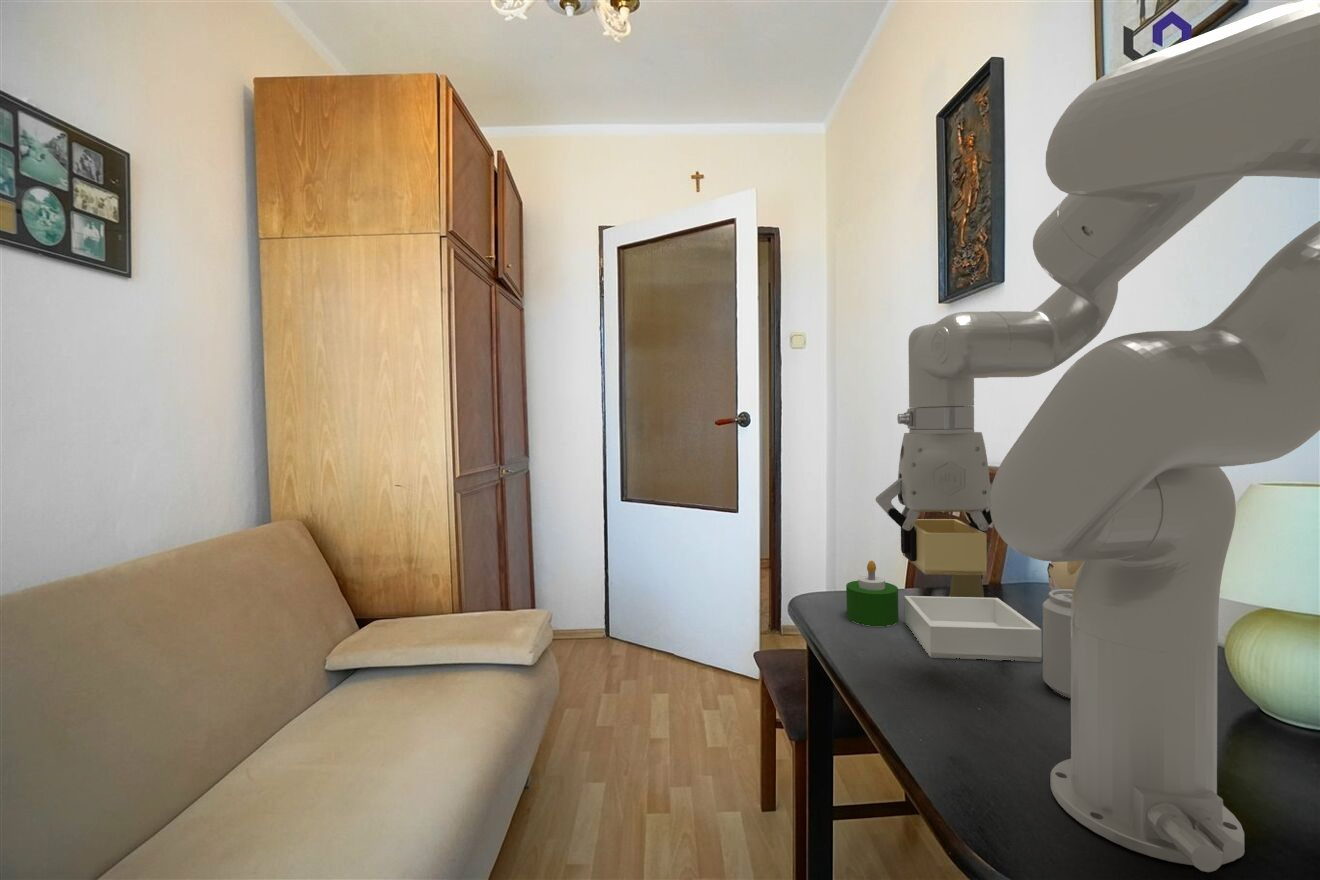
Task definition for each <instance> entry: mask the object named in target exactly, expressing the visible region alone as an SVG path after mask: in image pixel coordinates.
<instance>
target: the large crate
mask: <svg viewBox="0 0 1320 880" xmlns="http://www.w3.org/2000/svg"><path fill="white" fill-rule="evenodd" d="M903 616H904V617H903V619H904V620H903V621H904V622H905V623H906V624H905V623H904V624H905V626H906V625H907V626H908V627H909V628H908V627H907V626H906V627H907V628H908V629H910V630H911V631H912V632H911V631H910V630H909V631H910V632H911V634H912V633H913V634H914V635H913V634H912V635H913V636H914V638H915V637H916V638H917V639H916V638H915V639H916V640H917V642H918V641H919V642H918V643H919V644H920V645H922V646H921V647H922V648H923V649H925V650H924V651H925V652H926V654H927V653H928V654H927V655H928V656H929V658H931V659H948V660H949V659H953V660H976V659H983V660H982V661H1002V660H1011V661H1010V662H1035V663H1041V662H1042V663H1043V635H1042V628H1040V627H1039V626H1037V625H1036V624H1035V623H1033V622H1032V621H1030V620H1029V619H1027V618H1026V617H1025V616H1023V615H1022V614H1020V613H1019V612H1018V611H1017V610H1015V609H1013V608H1012V607H1011V606H1009V604H1007V603H1006V602H1004V601H1002V600H1001V599H1000V598H998V597H984V598H980V597H949V596H928V595H927V596H925V595H923V596H922V595H921V596H920V595H904V596H903ZM956 658H957V659H956ZM959 658H960V659H959ZM984 659H985V660H984ZM986 659H987V660H986ZM1014 660H1015V661H1014Z"/></svg>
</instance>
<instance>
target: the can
mask: <svg viewBox="0 0 1320 880" xmlns="http://www.w3.org/2000/svg"><path fill="white" fill-rule="evenodd" d="M1072 593H1073V590H1070V589H1059V590H1053V591H1051V590H1050V591H1049V592H1048V596H1049V598H1047V599H1046V600H1045V601H1044V602H1043V603H1042V679H1043V681H1044V683H1045V684H1046V685H1048V686H1049V687H1050V688H1051V689H1053V690H1054V691H1053V690H1052V691H1053V692H1055V691H1056V692H1057V693H1059V694H1061V695H1060V696H1062V695H1063V696H1062V697H1064V696H1066V697H1069V698H1071V599H1072ZM1056 692H1055V693H1056ZM1057 693H1056V694H1057ZM1059 694H1058V695H1059ZM1066 697H1065V698H1066ZM1069 698H1068V699H1069Z"/></svg>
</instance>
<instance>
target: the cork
mask: <svg viewBox="0 0 1320 880" xmlns="http://www.w3.org/2000/svg"><path fill="white" fill-rule="evenodd" d="M950 580H951V581H950V588H949V589H950V590H949V593H948V597H980V598H985V593H984V586H983V579H982V575H951V579H950Z"/></svg>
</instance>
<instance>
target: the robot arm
mask: <svg viewBox="0 0 1320 880" xmlns="http://www.w3.org/2000/svg"><path fill="white" fill-rule="evenodd" d="M1046 147H1047V148H1046V152H1045V170H1046V174H1047V177H1048V178H1049V179H1050V180H1049V181H1051V184H1053V185H1054V187H1056V188H1057V189H1058V190H1059V191H1061V192H1063V193H1066V194H1067V196H1066V197H1064V198H1063V200H1061V202H1060V203H1059V204H1058V205H1057V206H1056V207H1055V209H1054V210H1053V211H1052V212H1051V213H1050V214H1049V215H1048V216H1047V217H1046V218H1045V219H1044V220H1043V221H1042V222H1041V224H1040V225H1039V226H1038V228H1037V229H1036V230H1035V233H1034V235H1033V239H1032V249H1033V253H1034V256H1035V258H1036V260H1037V262H1038V264H1039V265H1040V267H1041V269H1043V271H1044V272H1045V273H1046V274H1047V275H1048V276H1049V277H1050V278H1051V279H1053V280H1054V281H1055V282H1057V283H1058V284H1059V285H1060V286H1059V287H1058V288H1057V289H1056V290H1055V291H1054V292H1053V293H1052V294H1051V295H1050V296H1048V298H1047V299H1045V300H1044V302H1042V303H1041V304H1040V305H1039V306H1038V307H1036V308H1035V309H1033V310H1031V311H1020V310H1019V311H1013V310H1012V311H1009V310H1008V311H1007V310H1006V311H1003V310H1002V311H1001V310H999V311H996V310H995V311H994V310H992V311H960V312H955V313H951V314H948V315H947V316H945V317H943V318H941V319H939V320H938V321H937V322H935V323H931V324H923V325H920V326H918V327H915V328H914V329H913V330H912V331H911V332H910V334H909V337H908V408H907V411H906V412H903V413H898V414H897V424H899V425H904V426H906V427H907V429H908V431H909V432H904V434H903V437H902V441H901V448H900V454H899V461H898V462H899V463H898V474H897V479H896V481H894V482H893V483H892V484H890V485H889V486H888V487H887V488H885V489H884V490H883V491H882V492H881V493H879V494H878V495H877V496H876V497H875V502H876V503H877V504H878V505H879V507H880V508H881V509H882V510H883V512H885V513H886V514H887V516H888V517H890V519H891V520H892V521H894V522H895V523H896V525H898V526H899V527H900V550H901V553H902V554H903V553H905V556H904V558H906V559H907V558H908V559H909V560H910V561H916V560H917V543H916V531H915V530H914V524H915V522H916V520H917V519H918V518H919V516H920V514H921V512H922V513H925V512H926V513H964V515H965V517H966V519H967V520H968V522H969V523H968V525H969V526H971V527H973V528H975V529H978V530H980V531H982V532H984V533H985V531H987V530H988V528H989V526H990V525H991V524H993V527H994V528H995V530H996V532H997V534H998V535H999V537H1000V538H1001V539H1002V541H1004V543H1005V544H1007V546H1009V547H1010V548H1011V549H1012V550H1014V551H1016V552H1018V553H1019V554H1021V555H1023V556H1026V557H1027V558H1031V559H1034V560H1039V561H1044V562H1049V563H1051V562H1071V561H1084V562H1083V564H1082V566H1081V568H1080V570H1079V572H1078V575H1077V578H1076V580H1075V584H1074V588H1073V593H1072V599H1071V699H1070V758H1067V759H1065V760H1062V761H1060V762H1059V763H1057V764H1055V765H1054V767H1052V768H1051V771H1050V774H1049V775H1050V780H1049V781H1050V790H1051V792H1052V796H1053V797H1054V798H1055V800H1056V801H1057V803H1058V804H1059V805H1060V807H1061V808H1063V810H1064V811H1065V812H1066V813H1067V814H1068V815H1069V816H1071V817H1072V818H1074V819H1075V820H1076V821H1077V822H1079V824H1081V825H1083V826H1084V827H1085V828H1088V829H1089V830H1090V831H1092V832H1093V833H1095V834H1097V835H1099V836H1100V837H1102V838H1105V839H1106V840H1108V841H1110V842H1112V843H1115V844H1117V845H1118V846H1121V847H1123V848H1125V849H1127V850H1130V851H1133V852H1136V853H1139V854H1142V855H1145V856H1148V857H1150V858H1155V859H1159V860H1162V861H1167V862H1170V863H1175V864H1182V865H1188V866H1194V867H1195V868H1196V869H1198V870H1199V871H1201V872H1206V873H1211V872H1214V871H1215V872H1216V871H1217V870H1218V869H1219V868H1220V867H1221V866H1222V865H1225V864H1228V863H1231V862H1234V861H1236V860H1238V859H1240V858H1242V857H1243V856H1244V855H1245V852H1246V850H1245V831H1244V829H1243V826H1242V824H1241V822H1240V821H1239V820H1238V819H1237V817H1236V816H1235V815H1234V813H1232V812H1231V811H1230V810H1229V809H1228V808H1227V807H1226V806H1225V805H1224V799H1223V798H1222V797H1221V796H1219V795H1218V646H1219V610H1220V609H1219V607H1220V593H1221V583H1222V576H1223V572H1224V571H1223V570H1224V566H1225V562H1226V559H1227V558H1226V557H1227V553H1228V551H1229V547H1230V543H1231V539H1232V536H1233V531H1234V527H1235V521H1236V515H1237V514H1236V513H1237V512H1236V511H1237V505H1236V498H1235V491H1234V488H1233V485H1232V484H1231V481H1230V480H1229V478H1228V476H1227V474H1226V472H1224V470H1223V469H1222V468H1223V467H1236V466H1237V467H1238V466H1244V465H1245V466H1247V465H1252V464H1260V463H1266V462H1270V461H1273V460H1277V459H1280V458H1282V457H1284V456H1286V455H1288V454H1289V453H1291V452H1293V451H1294V450H1296V449H1298V448H1299V447H1302V445H1303V444H1305V443H1306V442H1307V441H1309V440H1310V439H1311V438H1313V436H1315V435H1316V434H1317V433H1318V432H1319V431H1320V220H1319V221H1317V222H1316V223H1314V224H1313V225H1311V226H1309V227H1308V228H1307V229H1306V230H1305V229H1304V231H1302V232H1301V233H1300V234H1299V235H1297V236H1296V237H1294V238H1293V239H1292V240H1291V241H1289V242H1288V243H1287V244H1285V245H1284V246H1282V247H1281V249H1280V250H1278V251H1277V253H1275V254H1274V255H1273V256H1272V257H1271V258H1270V259H1269V260H1267V262H1266V263H1265V264H1264V265H1263V266H1262V267H1261V268H1260V269H1259V270H1258V272H1257V273H1256V275H1255V276H1254V277H1253V279H1252V280H1251V281H1250V282H1249V284H1248V285H1247V286H1246V288H1245V289H1243V290H1242V291H1241V292H1240V294H1238V296H1237V297H1236V298H1235V299H1234V300H1233V301H1232V302H1231V303H1230V304H1229V305H1228V306H1227V307H1226V308H1225V309H1224V310H1223V311H1222V312H1221V313H1220V314H1219V315H1218V316H1217V317H1215V319H1213V320H1212V321H1211V322H1209V323H1208V324H1207V325H1203V326H1201V327H1199V328H1195V329H1192V330H1154V331H1153V330H1152V331H1150V330H1149V331H1141V332H1134V333H1129V334H1124V335H1121V336H1118V337H1114V338H1112V339H1110V340H1108V341H1104V342H1103V343H1101V344H1099V345H1097V346H1096V347H1094V348H1092V349H1090V350H1089V351H1087V352H1086V353H1085V354H1083V355H1082V356H1081V357H1080V358H1078V359H1077V360H1076V361H1075V362H1074V363H1073V364H1072V365H1071V366H1070V367H1069V368H1067V370H1066V371H1065V372H1064V373H1063V375H1062V377H1061V378H1060V379H1059V380H1058V381H1057V383H1056V384H1054V385H1055V386H1054V387H1053V388H1052V390H1051V391H1050V392H1049V394H1048V395H1047V397H1046V398H1045V399H1044V401H1043V402H1042V404H1041V405H1040V406H1039V408H1038V409H1037V410H1036V411H1035V413H1034V415H1033V417H1032V418H1031V419H1030V421H1029V422H1028V424H1027V425H1026V426H1025V428H1024V429H1023V431H1022V432H1021V434H1020V435H1019V436H1018V438H1017V439H1016V441H1015V442H1014V443H1013V445H1012V446H1011V448H1010V449H1009V451H1007V453H1006V455H1005V457H1004V458H1003V460H1002V461H1001V463H1000V465H999V467H998V469H997V470H996V473H995V475H994V478H993V481H992V483H991V481H990V480H991V479H990V470H989V463H988V457H987V450H986V444H985V439H984V436H983V432H982V431H975V379H988V378H1029V377H1036V376H1040V375H1042V374H1044V373H1047V372H1051V370H1054V369H1055V368H1057V367H1058V366H1060V365H1061V364H1063V363H1064V362H1066V361H1067V360H1068V359H1070V358H1072V357H1073V356H1074V355H1075V354H1076V353H1078V352H1079V351H1081V350H1082V349H1083V348H1085V346H1087V345H1089V344H1090V342H1092V341H1093V340H1094V339H1095V338H1096V337H1097V336H1098V335H1099V334H1100V333H1101V332H1102V330H1103V329H1104V327H1105V326H1106V325H1107V323H1108V320H1109V318H1110V316H1111V315H1112V312H1113V310H1114V308H1115V305H1116V301H1117V299H1118V293H1119V283H1120V281H1121V280H1122V279H1123V278H1124V277H1126V276H1127V275H1128V274H1129V273H1130V272H1131V271H1132V270H1134V269H1135V268H1136V267H1137V266H1139V265H1140V264H1141V263H1142V262H1143V261H1145V260H1146V259H1148V257H1149V256H1151V255H1152V254H1153V253H1154V252H1155V251H1157V250H1158V249H1159V248H1160V247H1161V246H1163V245H1164V244H1165V243H1166V242H1168V240H1169V239H1171V238H1173V236H1174V235H1176V234H1177V233H1178V232H1179V231H1180V230H1182V229H1183V228H1184V227H1186V226H1187V225H1188V224H1190V222H1191V221H1193V220H1194V219H1195V218H1197V216H1199V215H1200V214H1201V213H1203V212H1204V211H1205V210H1206V209H1208V207H1210V206H1211V205H1212V204H1213V203H1214V202H1216V201H1217V200H1218V199H1219V198H1220V197H1221V196H1222V195H1224V194H1225V193H1226V192H1227V191H1229V190H1230V189H1231V188H1232V187H1234V186H1235V185H1236V184H1237V183H1238V182H1239V181H1241V180H1242V179H1243V178H1244V177H1276V178H1277V177H1281V178H1282V177H1283V178H1287V177H1288V178H1299V179H1300V178H1301V179H1305V178H1306V179H1320V0H1293V1H1288V2H1286V3H1283V4H1280V5H1277V6H1274V7H1271V8H1268V9H1266V10H1265V9H1264V10H1262V11H1259V12H1256V13H1254V14H1251V15H1249V16H1246V17H1244V18H1240V19H1239V20H1238V19H1237V20H1235V21H1234V22H1231V23H1229V24H1226V25H1223V26H1221V27H1217V28H1216V29H1213V30H1210V31H1208V32H1205V33H1202V34H1200V35H1198V36H1194V37H1192V38H1190V39H1188V40H1185V41H1181V42H1179V43H1176V44H1174V45H1171V46H1169V47H1165V48H1162V49H1161V50H1158V51H1156V52H1153V53H1150V54H1147V55H1145V56H1143V57H1140V58H1137V59H1135V60H1132V61H1130V62H1128V63H1126V64H1124V65H1121V66H1119V67H1117V68H1115V69H1113V70H1111V71H1110V72H1108V73H1107V74H1105V75H1103V76H1101V77H1100V78H1099V79H1097V80H1095V81H1094V82H1093V83H1091V84H1090V85H1089V86H1088V87H1087V88H1085V89H1084V90H1083V91H1082V92H1081V93H1080V94H1079V95H1078V96H1077V97H1076V98H1074V99H1073V101H1072V102H1071V103H1070V104H1069V105H1068V106H1067V108H1066V109H1065V110H1064V112H1063V113H1062V115H1061V116H1060V117H1059V119H1058V121H1057V122H1056V124H1055V125H1054V128H1053V129H1052V131H1051V134H1050V137H1049V140H1048V143H1047V146H1046ZM896 497H897V498H898V502H899V504H901V505H902V506H904V507H903V509H902V511H901V512H900V511H899V510H897V508H896V507H895V506H894V505H893V504H892V500H893V499H894V498H896ZM908 559H907V560H908ZM909 560H908V561H909ZM910 561H909V562H910Z"/></svg>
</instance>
